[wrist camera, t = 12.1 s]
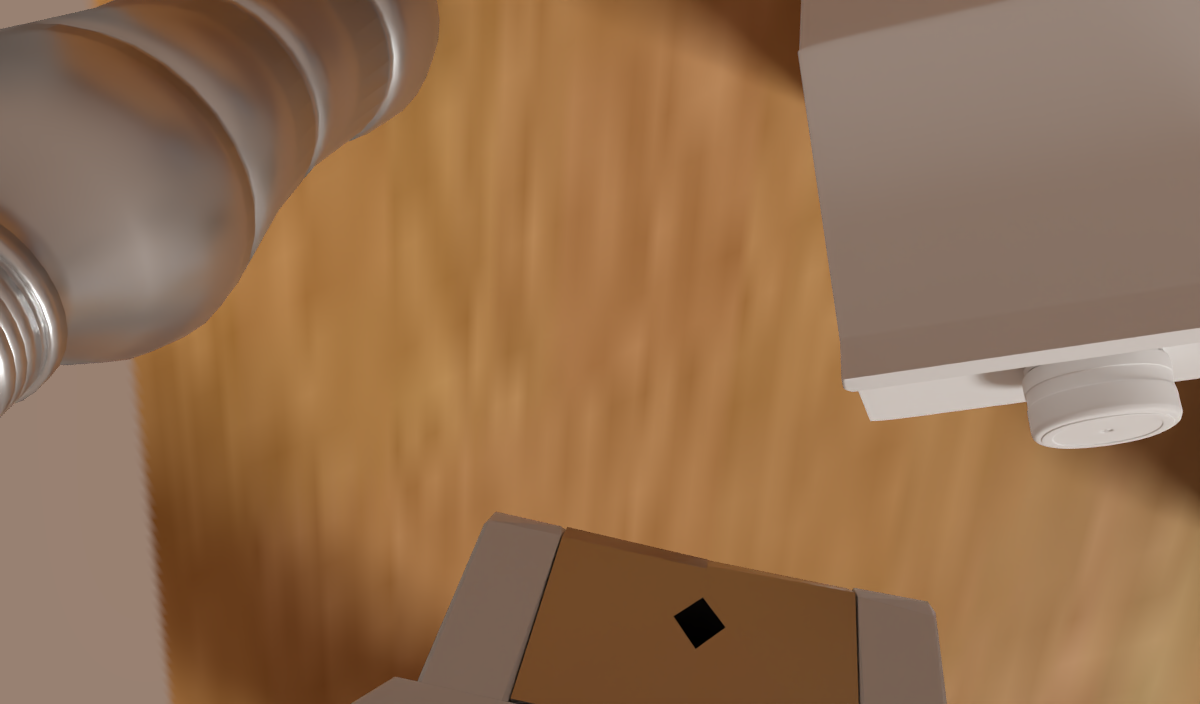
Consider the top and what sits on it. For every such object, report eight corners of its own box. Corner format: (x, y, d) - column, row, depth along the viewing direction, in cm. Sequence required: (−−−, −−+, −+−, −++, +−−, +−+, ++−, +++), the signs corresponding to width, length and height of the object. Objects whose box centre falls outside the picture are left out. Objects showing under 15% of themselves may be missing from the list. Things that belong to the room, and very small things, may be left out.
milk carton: (804, -126, 30) (792, 146, 14) (1095, -205, 28) (1469, 8, 12) (850, 127, 33) (882, 579, 17) (1112, 73, 31) (1422, 527, 15)
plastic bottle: (438, 129, 35) (97, 574, 18) (228, 65, 35) (-303, 453, 18) (477, -82, 32) (98, 235, 15) (244, -153, 32) (-397, 84, 15)
